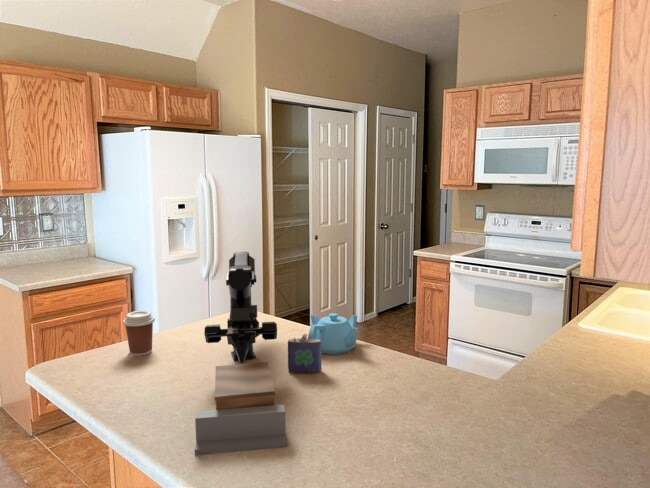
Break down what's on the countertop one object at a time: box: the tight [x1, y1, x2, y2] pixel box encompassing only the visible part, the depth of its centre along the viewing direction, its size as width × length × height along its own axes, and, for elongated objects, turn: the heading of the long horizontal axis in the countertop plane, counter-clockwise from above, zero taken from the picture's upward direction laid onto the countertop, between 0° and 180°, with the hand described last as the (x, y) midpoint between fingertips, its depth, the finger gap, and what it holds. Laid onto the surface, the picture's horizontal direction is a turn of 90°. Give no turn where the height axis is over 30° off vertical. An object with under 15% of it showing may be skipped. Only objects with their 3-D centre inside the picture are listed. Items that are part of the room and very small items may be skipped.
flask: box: [287, 333, 322, 375], centre depth 137 cm, size 9×3×11 cm, turn 88°
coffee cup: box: [122, 310, 156, 357], centre depth 153 cm, size 9×9×12 cm
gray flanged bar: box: [194, 404, 288, 455], centre depth 102 cm, size 6×18×6 cm, turn 99°
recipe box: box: [214, 361, 276, 410], centre depth 113 cm, size 16×12×9 cm
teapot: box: [307, 312, 359, 355], centre depth 156 cm, size 15×15×11 cm
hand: (241, 362), depth 128 cm, fingers closed
